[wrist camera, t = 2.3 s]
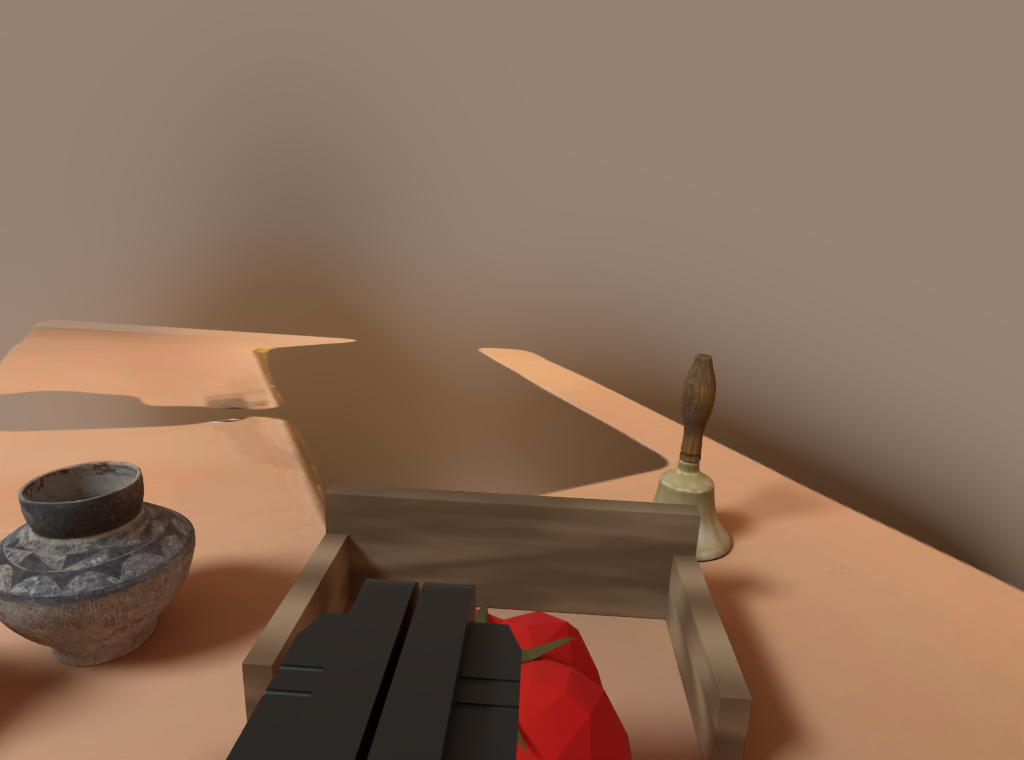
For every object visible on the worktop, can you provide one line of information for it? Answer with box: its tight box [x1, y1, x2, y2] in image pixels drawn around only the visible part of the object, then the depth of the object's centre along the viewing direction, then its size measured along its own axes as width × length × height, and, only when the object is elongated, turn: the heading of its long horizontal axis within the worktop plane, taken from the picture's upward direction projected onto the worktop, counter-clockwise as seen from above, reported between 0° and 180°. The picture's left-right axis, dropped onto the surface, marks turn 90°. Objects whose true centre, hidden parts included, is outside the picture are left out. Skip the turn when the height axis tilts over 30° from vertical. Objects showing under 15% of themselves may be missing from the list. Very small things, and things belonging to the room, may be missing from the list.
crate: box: [242, 484, 753, 760], centre depth 40 cm, size 14×25×8 cm, turn 87°
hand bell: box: [652, 354, 731, 561], centre depth 55 cm, size 8×8×16 cm
